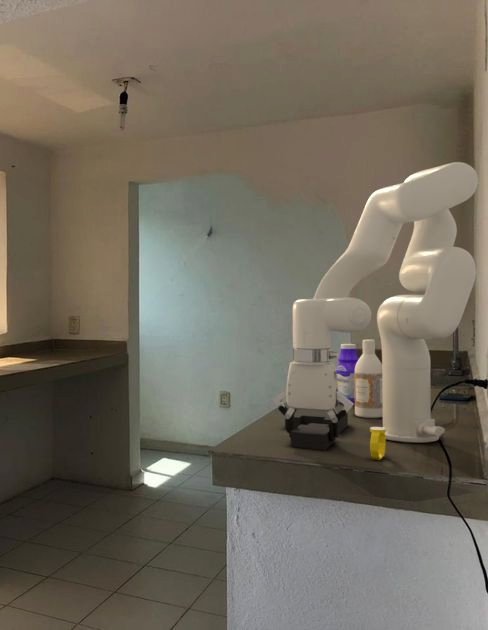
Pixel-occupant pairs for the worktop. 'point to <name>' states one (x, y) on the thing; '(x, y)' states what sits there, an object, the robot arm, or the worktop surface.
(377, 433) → the watch
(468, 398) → the worktop surface
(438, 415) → the worktop surface
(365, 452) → the worktop surface
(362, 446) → the worktop surface
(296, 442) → the tongue pad
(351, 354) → the bottle
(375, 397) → the bath foam
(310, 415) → the notch pad
